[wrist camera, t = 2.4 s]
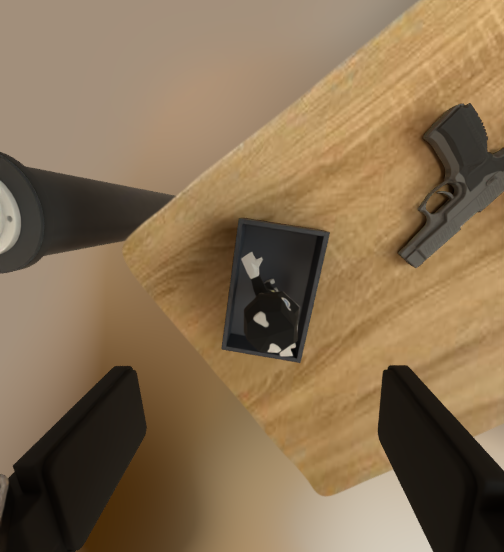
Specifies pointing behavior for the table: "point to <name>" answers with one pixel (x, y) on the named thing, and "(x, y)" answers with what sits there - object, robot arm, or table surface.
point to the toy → (269, 314)
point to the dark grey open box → (274, 277)
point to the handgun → (457, 179)
